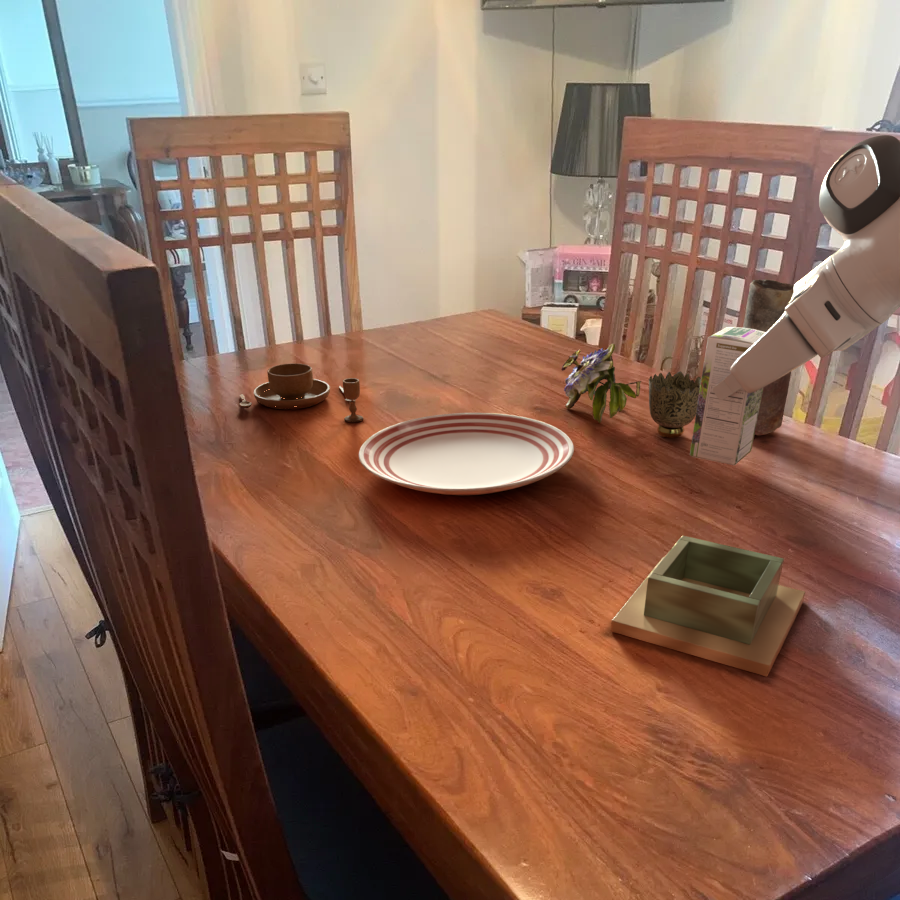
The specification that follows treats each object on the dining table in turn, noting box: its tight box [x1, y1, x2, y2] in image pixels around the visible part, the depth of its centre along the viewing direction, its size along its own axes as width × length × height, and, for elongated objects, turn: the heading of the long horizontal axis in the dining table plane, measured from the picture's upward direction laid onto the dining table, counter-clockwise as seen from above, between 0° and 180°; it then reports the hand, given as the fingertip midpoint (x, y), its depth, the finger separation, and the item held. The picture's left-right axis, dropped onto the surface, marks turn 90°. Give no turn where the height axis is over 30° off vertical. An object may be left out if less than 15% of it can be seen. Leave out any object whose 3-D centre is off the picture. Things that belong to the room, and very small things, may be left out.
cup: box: [648, 371, 702, 439], centre depth 119 cm, size 8×7×8 cm
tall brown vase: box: [742, 278, 795, 436], centre depth 117 cm, size 8×7×20 cm
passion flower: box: [560, 343, 642, 424], centre depth 129 cm, size 11×11×12 cm
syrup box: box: [689, 326, 766, 466], centre depth 101 cm, size 6×6×14 cm
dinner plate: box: [358, 412, 575, 496], centre depth 111 cm, size 27×27×3 cm
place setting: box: [239, 362, 364, 423], centre depth 132 cm, size 18×20×6 cm
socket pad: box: [610, 535, 806, 677], centre depth 79 cm, size 14×14×5 cm
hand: (726, 385), depth 100 cm, fingers closed on syrup box, 6 cm apart
